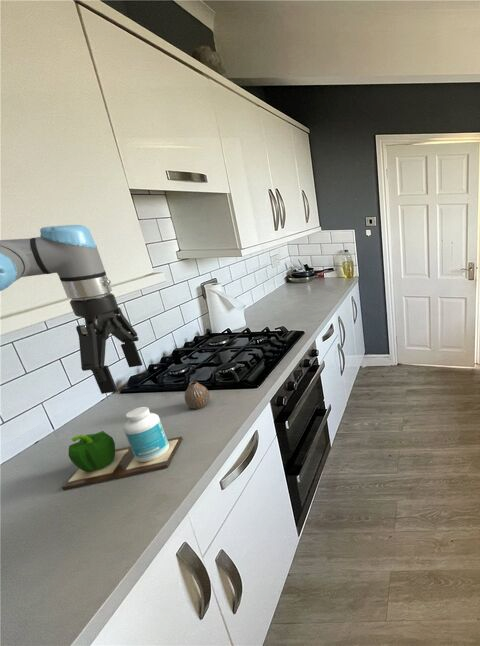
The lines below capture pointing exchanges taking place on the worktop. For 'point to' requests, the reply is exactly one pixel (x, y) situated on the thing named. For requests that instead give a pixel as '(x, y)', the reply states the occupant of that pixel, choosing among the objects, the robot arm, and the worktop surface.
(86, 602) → the worktop surface
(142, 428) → the pill bottle
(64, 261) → the robot arm
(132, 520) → the worktop surface
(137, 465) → the board
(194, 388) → the brown rounded bulb
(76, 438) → the bell pepper
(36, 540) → the worktop surface
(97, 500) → the worktop surface
